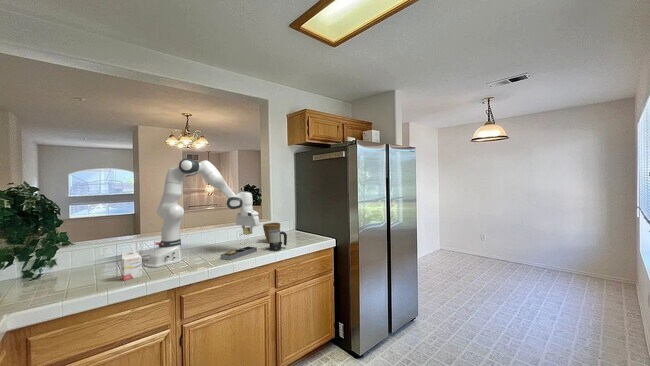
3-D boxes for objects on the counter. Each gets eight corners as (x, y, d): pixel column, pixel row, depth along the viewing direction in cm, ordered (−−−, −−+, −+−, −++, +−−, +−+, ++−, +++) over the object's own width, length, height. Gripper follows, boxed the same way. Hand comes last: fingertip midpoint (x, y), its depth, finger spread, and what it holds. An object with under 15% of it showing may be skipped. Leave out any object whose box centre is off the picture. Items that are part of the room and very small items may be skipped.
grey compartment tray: (230, 261, 175) (229, 256, 175) (220, 259, 180) (220, 254, 180) (256, 252, 197) (256, 247, 197) (248, 250, 202) (247, 246, 202)
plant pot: (265, 240, 236) (265, 222, 236) (282, 240, 235) (282, 222, 235) (261, 244, 221) (260, 225, 221) (278, 244, 220) (278, 225, 220)
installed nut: (230, 259, 178) (230, 252, 178) (225, 258, 181) (225, 251, 181) (235, 257, 182) (235, 250, 182) (231, 256, 185) (230, 249, 185)
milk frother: (272, 252, 197) (271, 232, 196) (263, 248, 209) (262, 229, 209) (289, 248, 205) (288, 229, 205) (279, 245, 218) (278, 227, 218)
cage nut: (247, 234, 193) (247, 228, 193) (243, 234, 195) (242, 227, 195) (252, 233, 197) (252, 227, 197) (247, 233, 199) (247, 226, 199)
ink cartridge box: (124, 281, 144) (123, 253, 144) (121, 279, 147) (120, 252, 147) (142, 276, 150) (141, 250, 150) (139, 274, 154) (138, 249, 154)
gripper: (233, 213, 198) (234, 231, 198) (254, 214, 188) (254, 233, 188) (240, 212, 203) (240, 230, 204) (260, 212, 194) (260, 231, 194)
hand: (247, 231), depth 196 cm, fingers closed on cage nut, 5 cm apart
